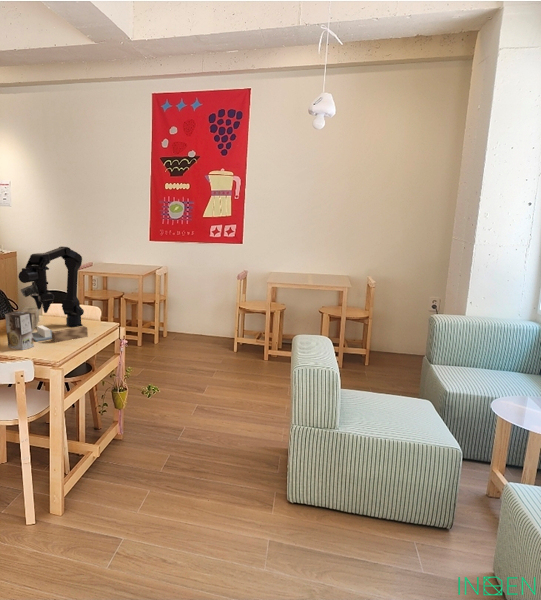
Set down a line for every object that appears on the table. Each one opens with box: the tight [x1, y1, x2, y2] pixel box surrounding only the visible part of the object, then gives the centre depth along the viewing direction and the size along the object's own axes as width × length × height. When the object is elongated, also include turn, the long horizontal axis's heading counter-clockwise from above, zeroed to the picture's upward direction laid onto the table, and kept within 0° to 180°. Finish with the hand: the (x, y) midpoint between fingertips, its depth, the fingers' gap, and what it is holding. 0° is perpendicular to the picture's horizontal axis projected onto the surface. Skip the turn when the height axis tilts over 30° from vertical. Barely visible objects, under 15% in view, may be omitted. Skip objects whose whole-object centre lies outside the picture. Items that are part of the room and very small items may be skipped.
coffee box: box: [4, 310, 35, 351], centre depth 201 cm, size 9×6×16 cm
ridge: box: [33, 324, 53, 343], centre depth 219 cm, size 12×14×4 cm
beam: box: [51, 325, 89, 344], centre depth 217 cm, size 16×4×5 cm, turn 137°
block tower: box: [20, 306, 40, 332], centre depth 235 cm, size 8×8×29 cm
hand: (42, 311), depth 217 cm, fingers open, 9 cm apart
